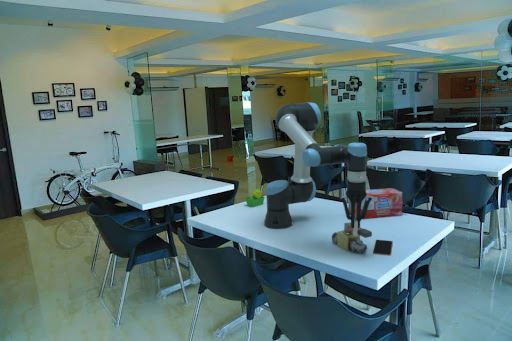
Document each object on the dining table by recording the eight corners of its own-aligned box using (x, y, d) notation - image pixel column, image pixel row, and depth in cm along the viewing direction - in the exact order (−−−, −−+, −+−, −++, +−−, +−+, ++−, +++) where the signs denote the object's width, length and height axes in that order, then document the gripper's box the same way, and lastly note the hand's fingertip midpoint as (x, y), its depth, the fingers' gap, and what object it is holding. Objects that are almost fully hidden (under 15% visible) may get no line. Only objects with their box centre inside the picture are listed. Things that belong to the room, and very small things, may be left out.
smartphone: (372, 254, 169) (372, 252, 169) (375, 241, 185) (375, 239, 184) (391, 256, 167) (391, 254, 166) (392, 242, 182) (393, 240, 182)
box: (392, 209, 231) (392, 187, 229) (403, 216, 219) (403, 192, 216) (347, 213, 228) (347, 190, 225) (355, 220, 215) (356, 195, 213)
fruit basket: (257, 202, 260) (256, 185, 258) (267, 204, 254) (266, 187, 251) (244, 206, 252) (243, 188, 250) (254, 208, 246) (253, 190, 244)
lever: (365, 241, 164) (365, 233, 163) (342, 231, 177) (342, 223, 176) (371, 240, 165) (372, 231, 164) (349, 229, 179) (349, 222, 178)
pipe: (329, 245, 184) (329, 228, 182) (341, 241, 187) (340, 225, 186) (356, 257, 168) (356, 239, 167) (368, 254, 172) (369, 235, 170)
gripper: (342, 182, 160) (341, 238, 164) (374, 182, 159) (372, 237, 164) (339, 179, 167) (338, 232, 172) (369, 178, 167) (368, 231, 171)
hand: (355, 234), depth 168 cm, fingers closed
